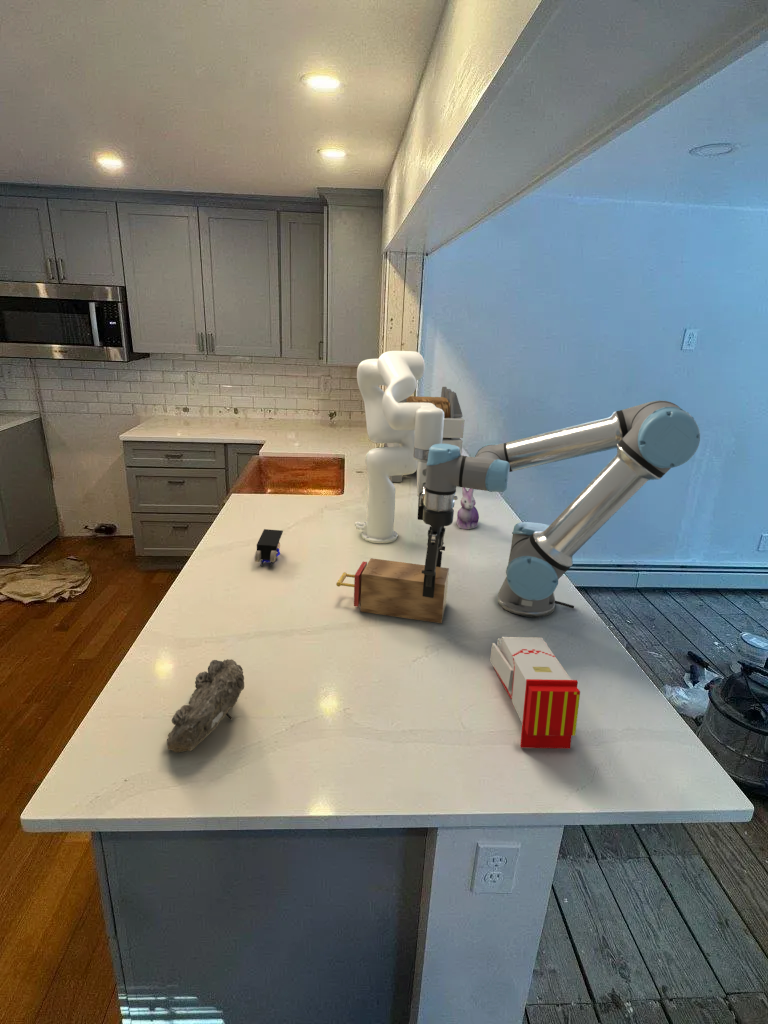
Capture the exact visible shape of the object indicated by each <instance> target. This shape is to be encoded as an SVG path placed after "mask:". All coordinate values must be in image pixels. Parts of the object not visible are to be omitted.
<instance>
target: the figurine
mask: <svg viewBox="0 0 768 1024" xmlns="http://www.w3.org/2000/svg"><path fill="white" fill-rule="evenodd" d="M474 490H475V489H470V488H468V490H467V488H463V487H461V493H462V497H461V500H460V506H461V508H459V509H458V510H457V513H456V517H457V518H456V522H455V523H456V526H458V528H459V529H463V530H470V529H475V528H477V526H478V524H479V520H480V515H479V511H478V509H477V507H476V503H477V502H476V499H475V496H474Z"/></svg>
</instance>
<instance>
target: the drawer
mask: <svg viewBox="0 0 768 1024" xmlns="http://www.w3.org/2000/svg"><path fill="white" fill-rule="evenodd" d="M367 564H368V561H362V562H361V564H360V565H359V567H358V569H357V571H356V572H355V574H351V573H347V571H346V572H345V571H344V572H342V574H341V576H340V577H339V579H338V580H337V582H336V583H335V585H336V586H337V587H341V586H342V587H350V588H353V606H354V607H355V608H356V607H357V608H359V607H360V605H361V581H362V572H363V571H364V569H365V567H366V566H367ZM346 578H352V579H353V578H354V580H353V581H354V584H353V583H349V582H347V583H346V582H344V581H345V579H346Z"/></svg>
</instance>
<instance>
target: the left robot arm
mask: <svg viewBox="0 0 768 1024" xmlns="http://www.w3.org/2000/svg"><path fill="white" fill-rule="evenodd" d="M425 371H426V361H425V359H424V357H423V355H422V354H421V353H420V352H418V351H415V350H388V351H385V352H383V353H381V354H380V356H379V357H378V358H367V359H364V360H361V362H359V364H358V366H357V368H356V381H357V386H358V390H359V392H360V395H361V398H362V401H363V404H364V405H363V406H364V414H365V415H364V416H365V424H366V433H367V438H368V440H369V442H371V443H373V444H384V443H399V445H400V447H384V446H380V447H378V446H377V447H374V448H371V449H369V450H368V451H367V452H366V455H365V466H366V467H365V468H366V478H367V479H366V480H367V484H366V486H367V488H366V490H367V491H366V519H365V520H366V521H364V522H362V521H355V522H354V527H355V529H356V530H361V534H360V535H361V538H362V539H363V540H364V541H366V542H368V543H373V544H389V543H393V542H395V541H397V540H398V537H399V534H398V532H397V531H396V530H395V528H394V527H395V510H396V509H395V508H396V507H395V506H396V486H395V484H394V482H391V480H390V478H389V476H394V475H402V476H407V475H412V474H414V473H415V472H416V494H417V497H418V500H417V501H418V503H417V520H418V521H423V508H424V507H425V505H424V493H425V486H426V471H427V461H428V454H429V448H430V447H431V446H432V445H435V444H442V440H443V427H444V412H443V410H442V409H440V408H437V407H436V406H435V405H434V404H432V403H426V402H423V403H418V402H411V403H398V402H400V401H402V400H404V399H406V398H408V397H410V396H413V394H414V393H415V391H416V390H417V385H418V382H417V381H419V380H420V379H422V377H423V376H424V374H425V373H426V372H425ZM380 386H386V389H385V390H383V389H382V388H381V387H380Z"/></svg>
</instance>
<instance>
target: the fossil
mask: <svg viewBox="0 0 768 1024" xmlns="http://www.w3.org/2000/svg"><path fill="white" fill-rule="evenodd" d="M243 670H244V669H243V667H242V665H240V664H237V662H236V661H235V660H234V659H232V658H231V659H227V658H226V659H224V660H223V661H222V660H217V659H212V660H211V661H210V663H209V665H208V666H207V671H201V672H199V673H198V674H197V675H196V676H195V680H194V684H195V685H194V687H195V689H194V690H193V693H192V694H191V697H190V698H189V700H188V704H184V705H182V706H181V707H180V709H177V710H176V711H175V713H174V715H173V716H172V718H171V723H172V724H173V727H172V730H171V731H170V732H168V734H167V738H166V741H167V742H166V745H167V749H168V750H169V751H173V752H174V753H176V754H178V753H182V752H188V751H189V752H192V751H193V750H195V748H196V747H197V746H199V744H200V743H201V742H203V741H204V740H205V739H206V738H207V737H208V736H209V735H210V734H211V733H212V732H214V730H215V729H217V727H218V726H219V724H220V722H221V721H222V720H223V719H224V718H225V716H226V717H227V719H229V720H233V717H232V715H230V714H229V710H230V709H231V708H234V706H235V704H236V703H237V702H238V699H239V697H240V695H241V693H242V691H243V690H245V689H244V688H245V675H244V671H243Z"/></svg>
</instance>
